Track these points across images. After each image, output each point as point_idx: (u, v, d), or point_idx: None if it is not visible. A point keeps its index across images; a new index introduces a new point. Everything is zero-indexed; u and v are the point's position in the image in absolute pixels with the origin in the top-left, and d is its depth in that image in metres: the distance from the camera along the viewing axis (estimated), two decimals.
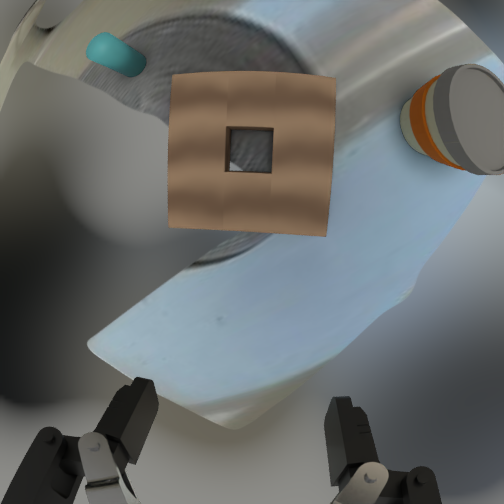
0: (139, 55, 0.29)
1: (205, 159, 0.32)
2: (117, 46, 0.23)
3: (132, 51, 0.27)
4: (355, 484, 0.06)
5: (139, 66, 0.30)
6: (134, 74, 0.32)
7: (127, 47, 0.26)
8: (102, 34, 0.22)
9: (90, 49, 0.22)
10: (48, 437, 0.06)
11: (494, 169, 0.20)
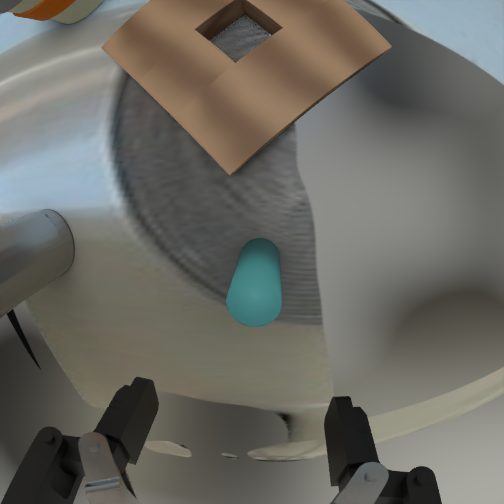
0: (241, 254, 0.27)
1: (289, 53, 0.19)
2: (238, 275, 0.21)
3: (239, 260, 0.25)
4: (355, 484, 0.06)
5: (254, 242, 0.27)
6: (270, 242, 0.28)
7: (236, 269, 0.24)
8: (235, 314, 0.20)
9: (267, 315, 0.20)
10: (48, 437, 0.06)
11: None
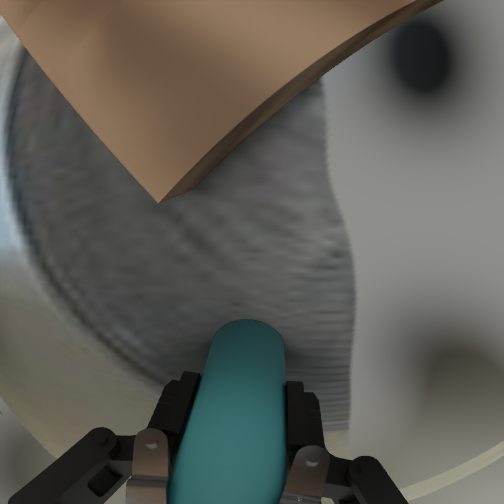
0: (208, 359, 0.13)
1: None
2: (184, 472, 0.06)
3: (199, 389, 0.10)
4: (293, 465, 0.07)
5: (235, 336, 0.13)
6: (267, 330, 0.14)
7: (189, 419, 0.09)
8: None
9: None
10: (100, 438, 0.07)
11: None
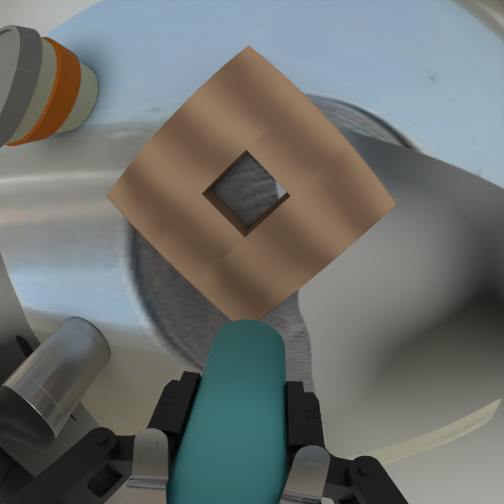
0: (208, 359, 0.13)
1: (295, 227, 0.25)
2: (184, 472, 0.06)
3: (199, 389, 0.10)
4: (293, 465, 0.07)
5: (236, 336, 0.13)
6: (267, 330, 0.14)
7: (189, 419, 0.09)
8: None
9: None
10: (100, 438, 0.07)
11: (12, 31, 0.10)
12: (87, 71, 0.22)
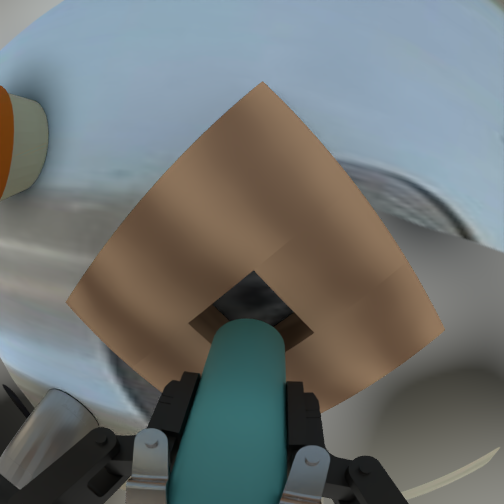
0: (208, 358, 0.13)
1: (316, 365, 0.17)
2: (184, 472, 0.06)
3: (199, 388, 0.10)
4: (293, 465, 0.07)
5: (235, 335, 0.13)
6: (267, 329, 0.14)
7: (189, 418, 0.09)
8: None
9: None
10: (100, 438, 0.07)
11: None
12: (29, 113, 0.14)
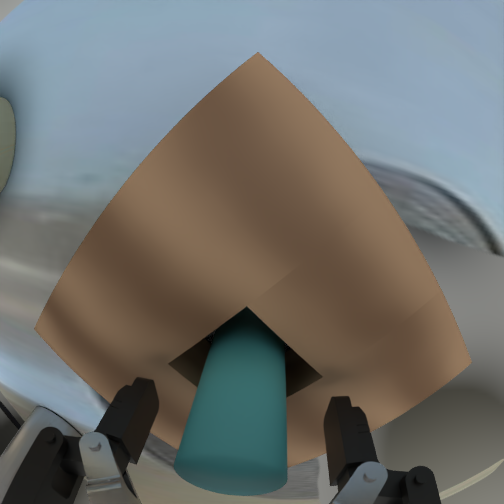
0: (215, 335, 0.14)
1: (323, 410, 0.14)
2: (196, 426, 0.08)
3: (208, 359, 0.12)
4: (354, 484, 0.06)
5: (240, 314, 0.15)
6: None
7: (199, 384, 0.11)
8: (195, 482, 0.08)
9: (257, 489, 0.08)
10: (49, 437, 0.06)
11: None
12: None
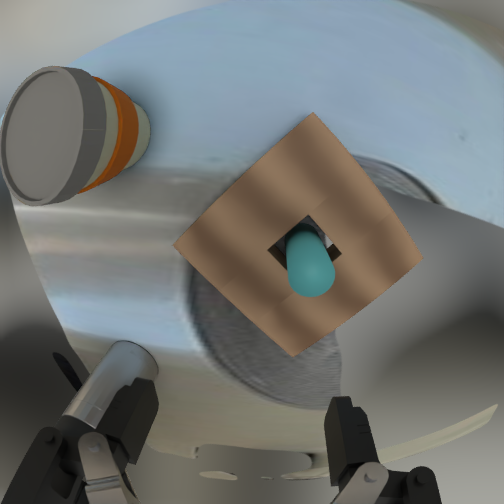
0: (288, 237, 0.30)
1: (343, 278, 0.29)
2: (297, 252, 0.24)
3: (289, 242, 0.28)
4: (355, 484, 0.06)
5: (299, 227, 0.30)
6: (312, 227, 0.31)
7: (289, 249, 0.27)
8: (294, 286, 0.24)
9: (322, 287, 0.23)
10: (48, 437, 0.06)
11: (62, 73, 0.14)
12: (140, 112, 0.26)
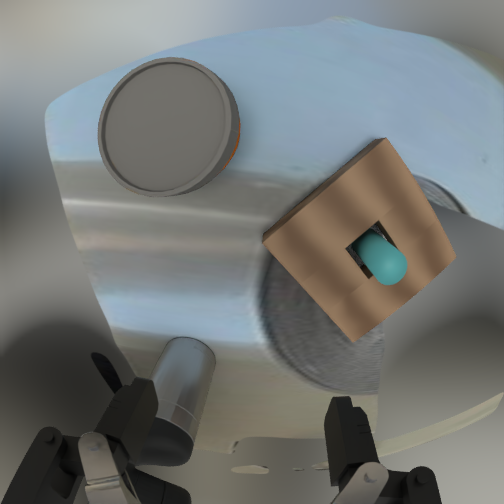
0: (358, 238, 0.34)
1: None
2: (379, 250, 0.28)
3: (364, 242, 0.32)
4: (355, 484, 0.06)
5: (366, 230, 0.35)
6: None
7: (367, 247, 0.31)
8: (378, 277, 0.28)
9: (397, 276, 0.28)
10: (48, 437, 0.06)
11: (193, 69, 0.19)
12: None
